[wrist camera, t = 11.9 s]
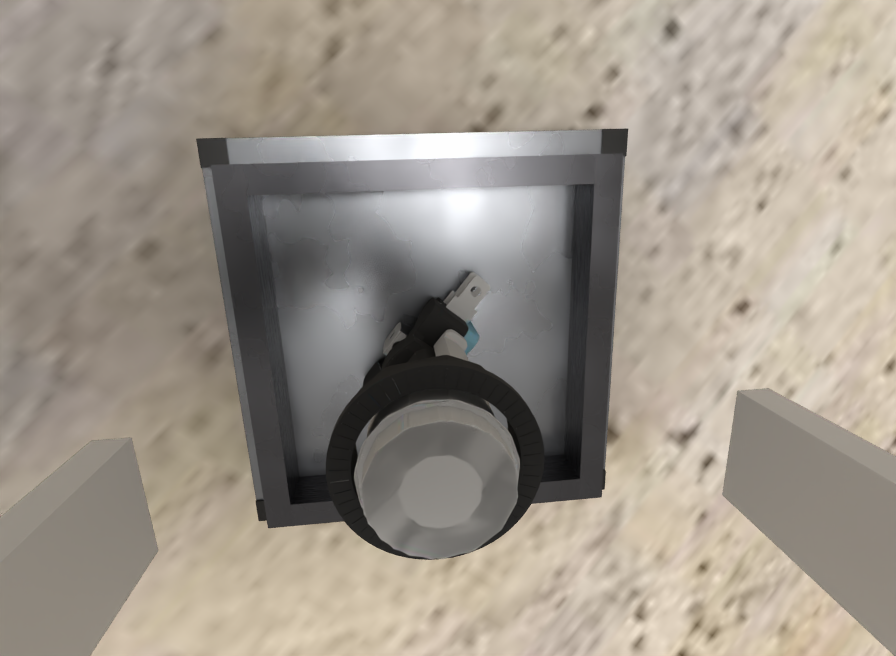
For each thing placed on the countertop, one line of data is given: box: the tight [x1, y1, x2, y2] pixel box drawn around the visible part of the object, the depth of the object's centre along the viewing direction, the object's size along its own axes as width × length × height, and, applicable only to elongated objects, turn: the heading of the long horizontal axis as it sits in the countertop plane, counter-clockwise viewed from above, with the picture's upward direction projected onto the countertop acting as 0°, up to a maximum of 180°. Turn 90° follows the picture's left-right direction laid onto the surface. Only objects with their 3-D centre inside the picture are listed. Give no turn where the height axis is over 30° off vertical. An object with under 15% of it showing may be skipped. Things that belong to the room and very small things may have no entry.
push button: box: [326, 272, 544, 560], centre depth 16 cm, size 7×5×10 cm
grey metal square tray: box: [196, 129, 628, 528], centre depth 20 cm, size 16×16×3 cm
